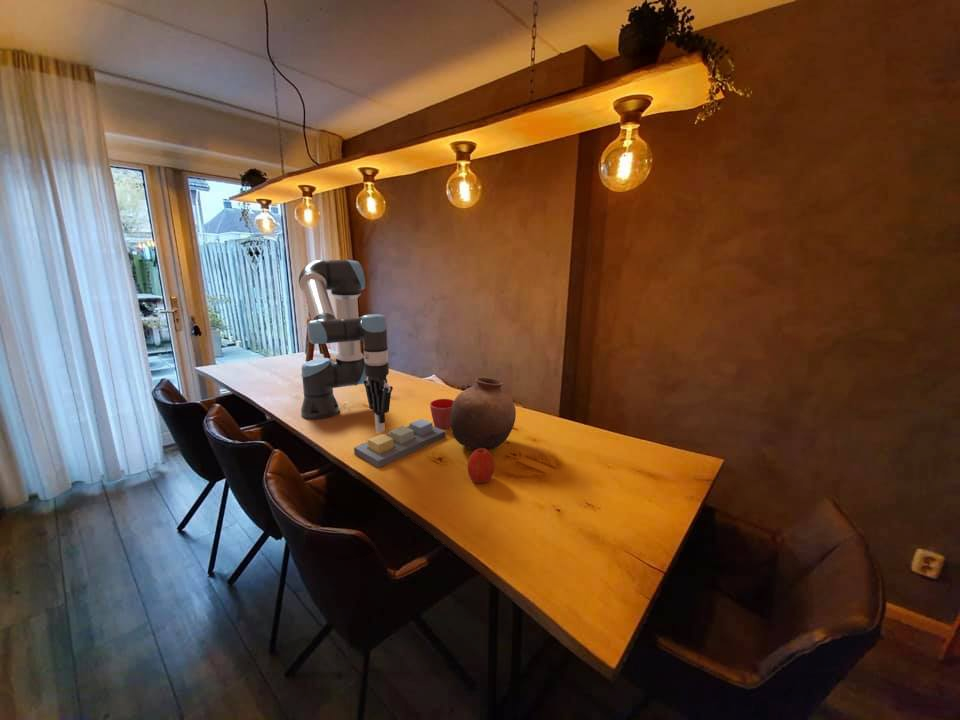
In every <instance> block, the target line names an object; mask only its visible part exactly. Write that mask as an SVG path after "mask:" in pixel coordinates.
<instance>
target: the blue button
mask: <svg viewBox="0 0 960 720" xmlns="http://www.w3.org/2000/svg"><path fill="white" fill-rule="evenodd" d="M409 426H410V429H411V430H414V434H415V435H418V436H423V435H425V434H427V433H430V432H432V426H433V422H431V421H429V420H425V419H423V418H420V419H418V420H415V421H413V422H410V423H409Z"/></svg>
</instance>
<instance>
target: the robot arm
mask: <svg viewBox="0 0 960 720" xmlns="http://www.w3.org/2000/svg"><path fill="white" fill-rule="evenodd" d="M298 285H299V289H300V291H301V292H302V293H303V294H304V297H305V301H306V305H307V309H308V311H309V316H310V320H309V321H308V322H307V325H306V327H307V329H306V330H307V336H308V341H309V343H311V344H313V345H321V344H322V345H326V344H336V343H337V344H338V353H337V354H336V355H335V360H333V361H332V360H331V359H330V358H328V357H322V358H321V357H319V358H315V359H311V360H308V361H306V362H304V363H303V364H302V365H301V377H302V379H301V380H302V388H303V389H302V390H303V401H302V405H301V408H300V412H301V417H303V418H305V419H309V420H321V419H325V418H330V417H332V416H336V415H337V414H338V413H339V412H340V406H339V404H338V401H337V399H336V396H335V394H334V389H337V388H345V387H352V386H359V385H364V387H365V392H366V398H367V402H368V406H369V410H372V412H373V416H374V419H373V420H374V424H375V425H374V426H375V432H376V433H377V434H379V433H382V432H384V431H386V426H385V425H386V424H385V423H386V416H385V415H386V413H389V412H390V406H391V405H390V404H391V397H392V391H393V389H394V388H393V386H392V385H390V386H389V384H388V379H387V376H388V375H389V373H390V369H389V368H390V367H389V366H390V365H389V364H390V363H388V362H389V349H388V324H387V318H386V316H385V315H384V314H379V313H375V314H374V313H372V314H371V313H370V314H364V315H362V316H360V317H359V305H358V304H359V303H358V300H359V299H358V298H359V297H360V296H361V295H362V291H363V290H364V289H365V288H366V278H365V274H364V270H363V267H362V265H361V264H360V262H359V261H357V260H350V259H317V260H313V261H311V262H310V263H308V264H307V265H305V266H303V268H302V269H301V271H300V274H299V276H298ZM327 291H331V293H330V294H331V295H332V296H333V297H334V299H335V307H336V309H335V310H336V315H335V312H334V309H333V305H332V303H331V299H330V298H329V294H328V292H327ZM360 341H362V347H363V353H362V352H361V349H360V348H361V347H360V346H361V345H360Z"/></svg>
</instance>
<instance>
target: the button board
mask: <svg viewBox="0 0 960 720" xmlns="http://www.w3.org/2000/svg"><path fill="white" fill-rule="evenodd" d="M406 427H407V428H409V429H410V425H407V426H406ZM446 432H447V431H446V430H445V429H439V428H437V427H435V426H434V425H432V432H430V433H427V434H425V435H423V436H418V435H415V434H414V440H411V441H409V442H407V443H404V444H402V445H399V444H397V443H395V442H393V443H394V448H393V449H390V450H388V451H386V452H383V453H381V454H377V453H375V452H373V451H371V450H369V449H368V441H367V442H365V443H361V444H359V445H356V446H354V447H353V452H354V453H353V454H354V455H355V456H358V457H359V458H361V459H363V460H364V461H365V462H368V463H369V464H371V465H373V466H375V467H377V468H378V469H380V468H382V467H385V466H386V465H389V464H392V463H393V462H395V461H397V460H399V459H401V458H403V457H405V456H406V457H407V456H409V455H410V454H412V453H415V452H417V451H419V450H421V449H423V448H426V447H428V446H430V445H432V444H434V443H436V442H439V441H440V440H443V439H445V438H446V437H447V436H446V435H447V434H446ZM385 435H386V436H388V437H390V432H389V433H387V434H385Z"/></svg>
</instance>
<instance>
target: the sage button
mask: <svg viewBox="0 0 960 720" xmlns="http://www.w3.org/2000/svg"><path fill="white" fill-rule="evenodd" d="M389 433H390V438H393V442H395V443H397V444H399V445H402V444H404V443H407V442H409V441H411V440H414V430H411V429H409V428H407V426H404V425H402V426H399V427H396V428H394V429H391V430H389Z"/></svg>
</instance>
